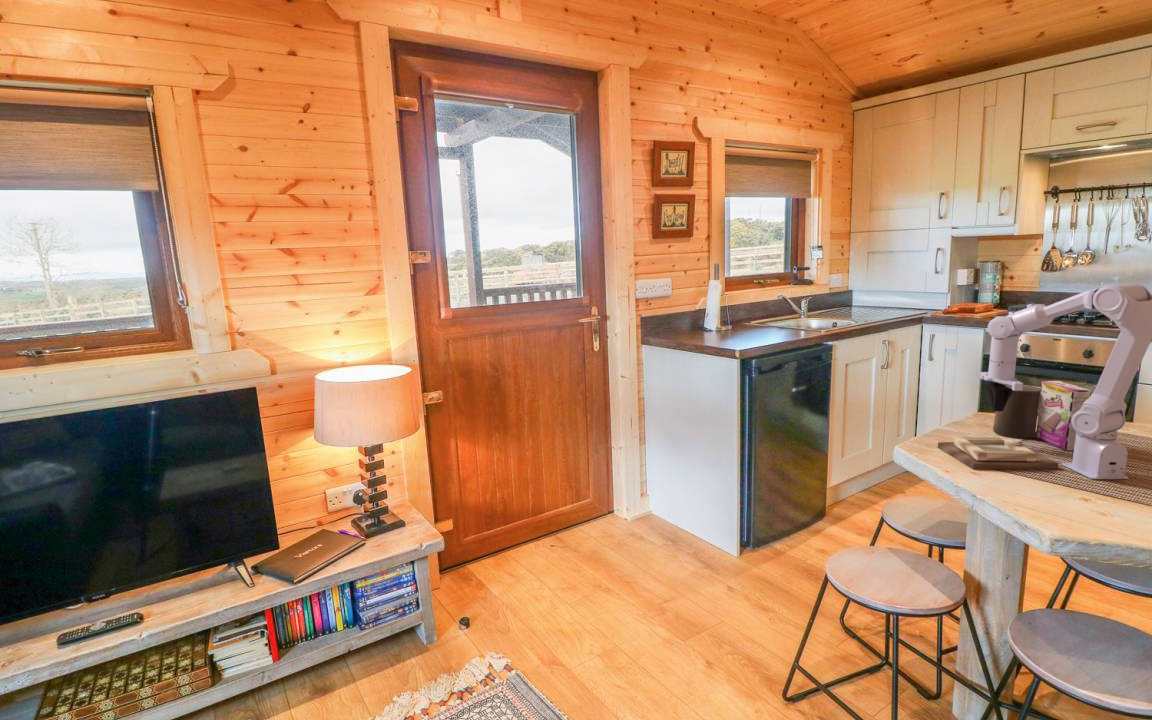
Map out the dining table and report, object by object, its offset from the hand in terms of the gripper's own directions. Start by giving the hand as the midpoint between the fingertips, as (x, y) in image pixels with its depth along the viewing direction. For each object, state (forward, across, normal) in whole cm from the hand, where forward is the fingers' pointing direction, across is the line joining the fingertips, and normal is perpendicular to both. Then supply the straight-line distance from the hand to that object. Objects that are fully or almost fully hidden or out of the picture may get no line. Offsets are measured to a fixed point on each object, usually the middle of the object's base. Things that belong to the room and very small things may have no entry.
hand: (997, 410), depth 157 cm
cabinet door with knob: (+8, +12, -7) cm, 16 cm away
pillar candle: (+10, -9, +11) cm, 17 cm away
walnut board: (+9, +10, -6) cm, 15 cm away
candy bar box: (+10, 0, +16) cm, 19 cm away
